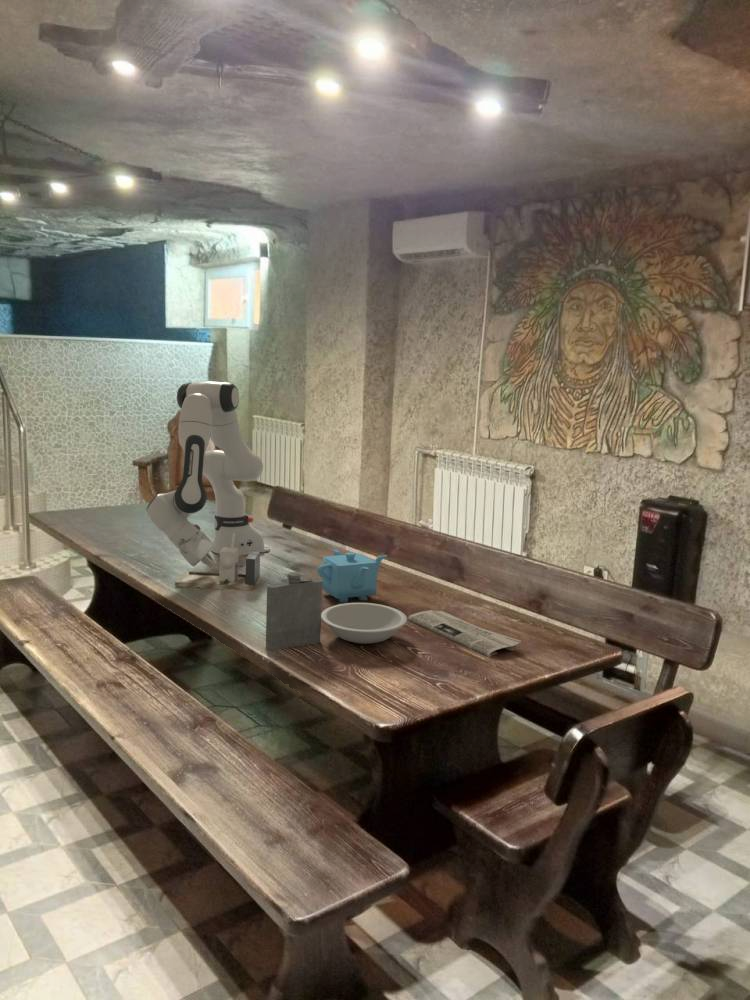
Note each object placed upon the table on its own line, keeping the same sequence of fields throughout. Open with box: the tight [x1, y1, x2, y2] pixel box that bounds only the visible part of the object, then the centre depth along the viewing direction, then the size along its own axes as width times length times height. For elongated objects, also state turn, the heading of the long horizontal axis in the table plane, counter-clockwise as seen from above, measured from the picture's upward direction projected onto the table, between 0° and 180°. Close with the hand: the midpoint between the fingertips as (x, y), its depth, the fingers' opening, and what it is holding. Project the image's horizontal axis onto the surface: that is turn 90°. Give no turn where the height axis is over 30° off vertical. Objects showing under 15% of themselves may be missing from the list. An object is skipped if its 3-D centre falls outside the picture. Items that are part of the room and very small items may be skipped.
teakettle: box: [316, 548, 388, 604], centre depth 253 cm, size 19×19×15 cm
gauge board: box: [174, 571, 261, 592], centre depth 262 cm, size 26×12×2 cm, turn 89°
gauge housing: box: [218, 547, 244, 583], centre depth 259 cm, size 7×9×10 cm
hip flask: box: [265, 571, 323, 652], centre depth 210 cm, size 16×4×20 cm, turn 121°
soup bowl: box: [321, 602, 408, 644], centre depth 218 cm, size 24×24×7 cm
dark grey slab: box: [245, 551, 261, 585], centre depth 261 cm, size 3×10×9 cm, turn 179°
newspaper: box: [407, 609, 522, 658], centre depth 225 cm, size 35×12×4 cm, turn 38°
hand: (214, 566), depth 261 cm, fingers closed
